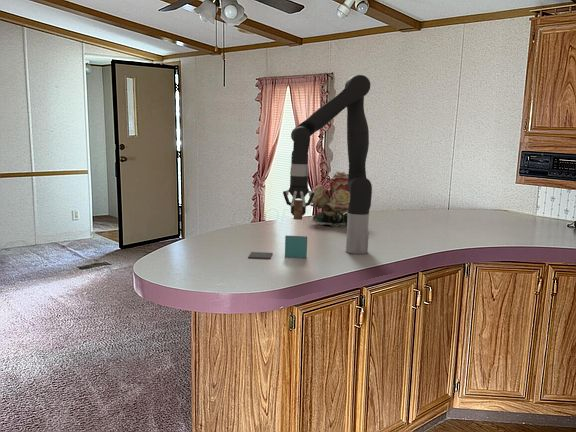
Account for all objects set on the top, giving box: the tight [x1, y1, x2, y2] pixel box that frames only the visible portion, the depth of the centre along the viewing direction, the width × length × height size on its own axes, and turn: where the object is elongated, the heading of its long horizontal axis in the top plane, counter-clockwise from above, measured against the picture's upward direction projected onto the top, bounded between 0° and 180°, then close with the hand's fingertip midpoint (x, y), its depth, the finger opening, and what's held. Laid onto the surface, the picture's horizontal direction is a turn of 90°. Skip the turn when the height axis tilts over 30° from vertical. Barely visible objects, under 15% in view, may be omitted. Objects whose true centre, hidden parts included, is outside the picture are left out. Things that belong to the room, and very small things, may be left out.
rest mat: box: [248, 251, 273, 260], centre depth 219 cm, size 9×9×1 cm
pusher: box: [293, 199, 303, 221], centre depth 225 cm, size 4×4×8 cm
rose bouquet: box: [309, 171, 350, 228], centre depth 302 cm, size 26×29×30 cm
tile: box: [284, 234, 308, 259], centre depth 218 cm, size 9×2×9 cm, turn 86°
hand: (298, 214), depth 225 cm, fingers closed on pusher, 3 cm apart
